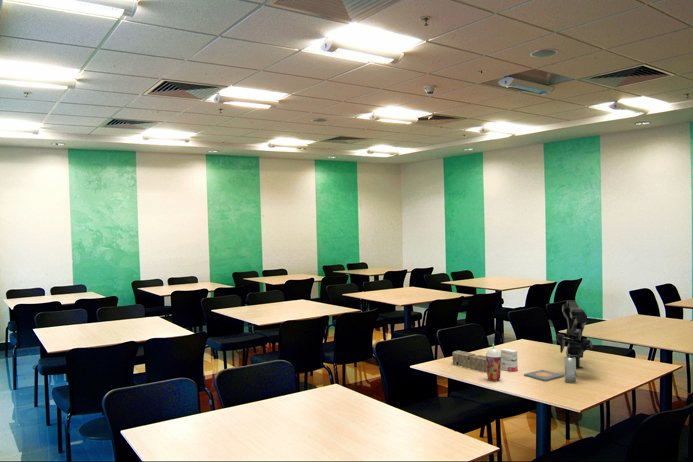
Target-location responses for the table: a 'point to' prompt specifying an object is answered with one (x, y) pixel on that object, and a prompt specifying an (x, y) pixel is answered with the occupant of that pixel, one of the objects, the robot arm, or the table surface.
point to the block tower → (470, 360)
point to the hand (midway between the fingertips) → (569, 354)
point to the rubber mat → (543, 375)
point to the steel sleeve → (570, 369)
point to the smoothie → (493, 364)
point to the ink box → (509, 360)
